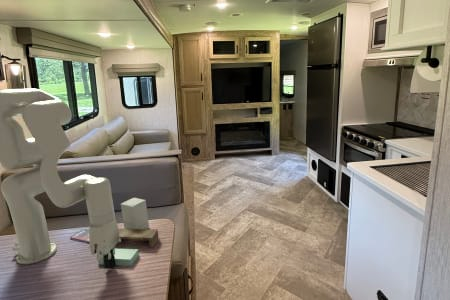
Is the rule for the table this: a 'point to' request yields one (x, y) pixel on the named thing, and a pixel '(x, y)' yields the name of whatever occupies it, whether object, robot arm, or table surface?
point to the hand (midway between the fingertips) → (110, 267)
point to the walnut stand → (140, 235)
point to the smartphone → (81, 236)
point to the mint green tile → (124, 256)
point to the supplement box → (135, 214)
